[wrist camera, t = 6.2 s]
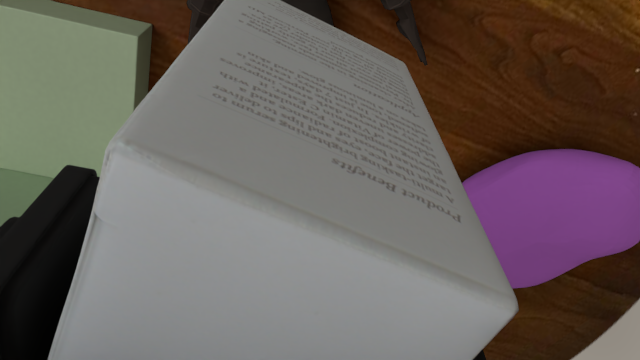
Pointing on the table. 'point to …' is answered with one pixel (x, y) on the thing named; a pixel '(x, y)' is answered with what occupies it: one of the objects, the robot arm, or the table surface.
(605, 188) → the blob
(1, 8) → the green l-shaped step
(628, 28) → the table surface
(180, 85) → the small box
